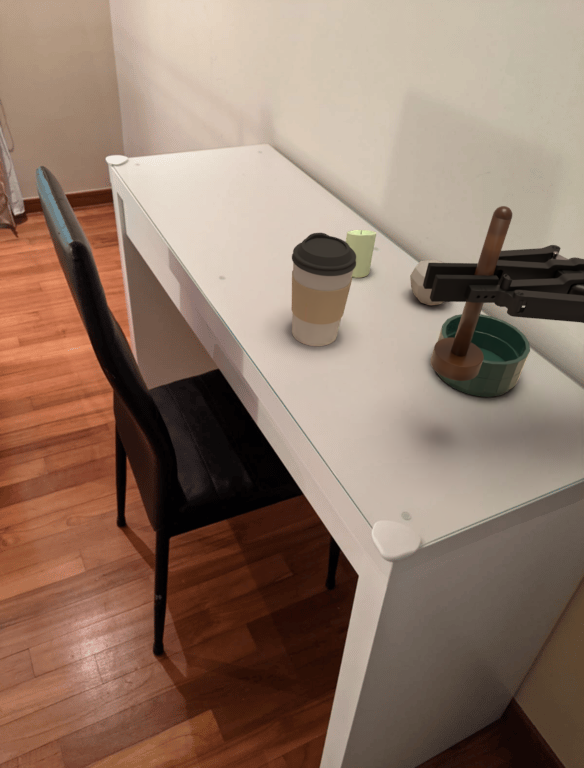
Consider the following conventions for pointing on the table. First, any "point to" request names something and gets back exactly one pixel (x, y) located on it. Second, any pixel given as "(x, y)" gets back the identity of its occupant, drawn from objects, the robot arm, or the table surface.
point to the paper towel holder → (472, 311)
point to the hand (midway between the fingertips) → (430, 282)
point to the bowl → (491, 355)
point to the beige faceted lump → (418, 280)
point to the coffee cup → (320, 287)
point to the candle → (361, 250)
